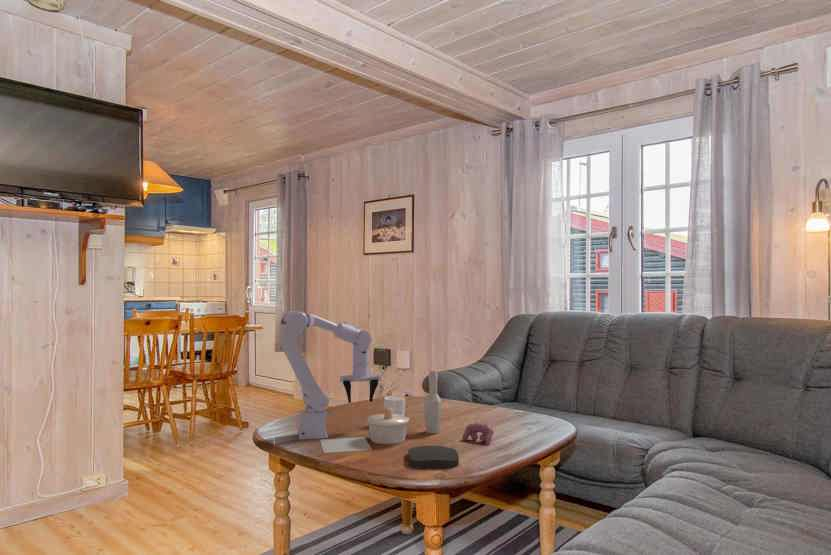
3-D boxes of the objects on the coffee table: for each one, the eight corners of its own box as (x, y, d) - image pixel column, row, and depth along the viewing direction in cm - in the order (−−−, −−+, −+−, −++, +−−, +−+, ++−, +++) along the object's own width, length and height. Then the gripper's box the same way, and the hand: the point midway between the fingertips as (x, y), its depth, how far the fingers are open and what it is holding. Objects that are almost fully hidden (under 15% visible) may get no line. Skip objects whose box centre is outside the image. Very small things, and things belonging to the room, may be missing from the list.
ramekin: (399, 448, 181) (399, 426, 181) (361, 444, 185) (361, 423, 185) (412, 438, 193) (412, 417, 193) (376, 434, 197) (377, 414, 197)
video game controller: (492, 447, 188) (496, 426, 191) (487, 444, 185) (491, 423, 187) (465, 443, 193) (469, 422, 196) (460, 440, 189) (464, 419, 192)
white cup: (402, 428, 206) (402, 400, 206) (381, 426, 208) (381, 399, 208) (407, 423, 214) (407, 396, 214) (386, 421, 215) (387, 395, 215)
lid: (371, 427, 180) (371, 414, 180) (364, 417, 194) (364, 405, 194) (413, 424, 184) (414, 412, 184) (403, 415, 197) (403, 403, 198)
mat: (324, 454, 173) (324, 452, 173) (319, 440, 188) (319, 439, 188) (372, 451, 177) (372, 449, 177) (364, 438, 192) (364, 437, 192)
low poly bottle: (440, 435, 197) (440, 371, 197) (422, 433, 198) (422, 371, 199) (442, 430, 203) (443, 369, 204) (425, 429, 205) (426, 368, 205)
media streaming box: (409, 469, 161) (409, 459, 161) (407, 454, 175) (407, 444, 175) (460, 469, 162) (460, 458, 162) (453, 454, 176) (453, 444, 176)
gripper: (341, 365, 196) (341, 404, 196) (382, 364, 200) (382, 403, 199) (339, 362, 203) (338, 400, 203) (379, 361, 206) (378, 399, 206)
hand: (360, 401), depth 201 cm, fingers open, 7 cm apart
